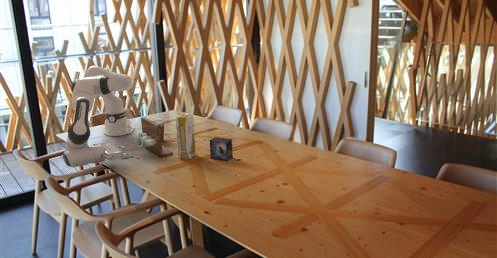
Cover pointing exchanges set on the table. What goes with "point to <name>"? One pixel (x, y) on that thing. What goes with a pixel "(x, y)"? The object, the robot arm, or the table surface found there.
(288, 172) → the table surface
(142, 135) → the button
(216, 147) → the small box
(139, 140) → the button middle
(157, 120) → the disposable coffee cup
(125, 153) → the card
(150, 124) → the brown wooden rack
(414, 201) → the table surface
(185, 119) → the juice carton
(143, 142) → the button
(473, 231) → the table surface
